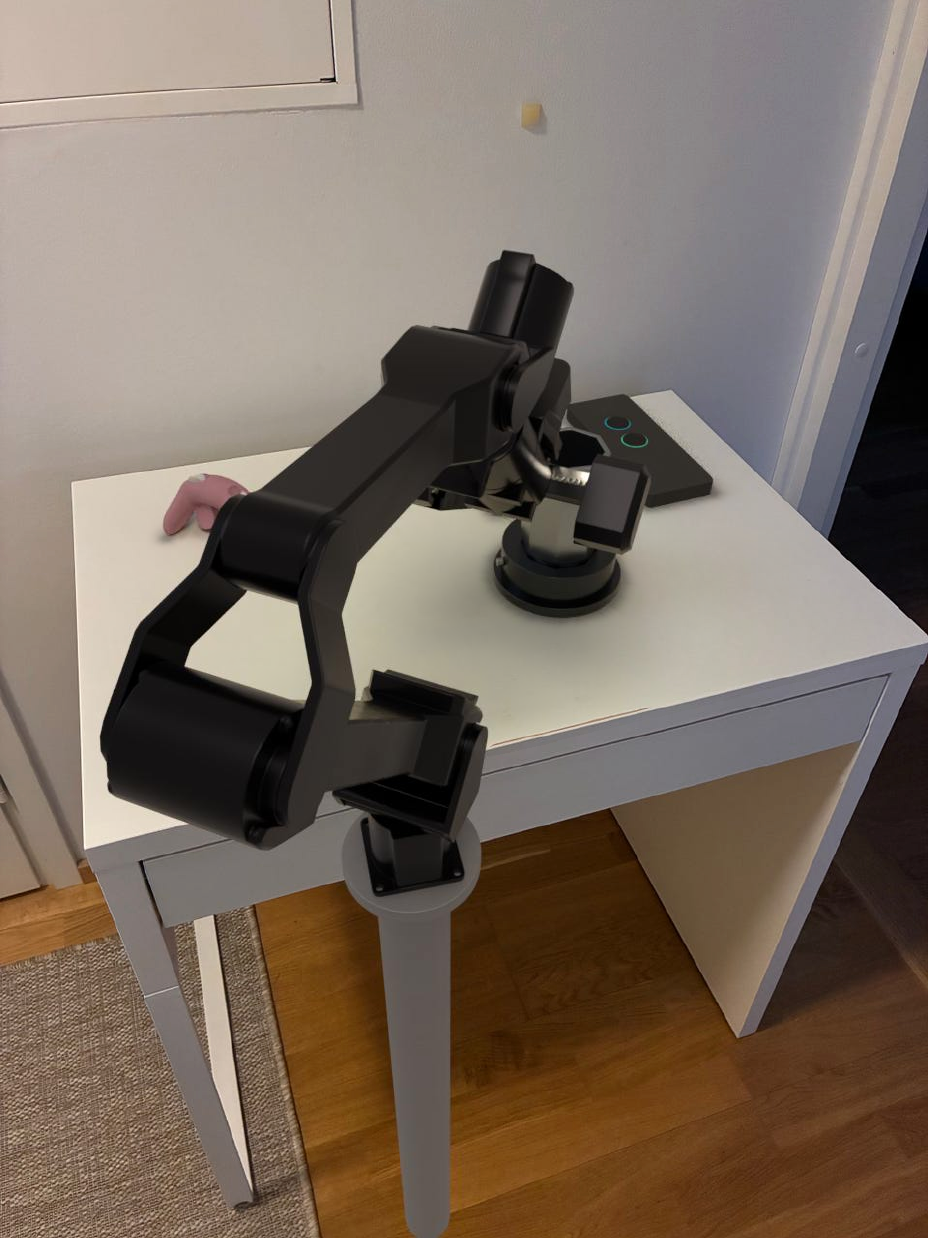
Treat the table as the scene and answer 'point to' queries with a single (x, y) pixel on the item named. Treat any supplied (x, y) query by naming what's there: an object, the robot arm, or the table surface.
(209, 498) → the video game controller
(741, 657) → the table surface
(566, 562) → the steel cup
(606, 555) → the dark round pedestal
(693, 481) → the smart home device
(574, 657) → the table surface
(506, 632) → the table surface
